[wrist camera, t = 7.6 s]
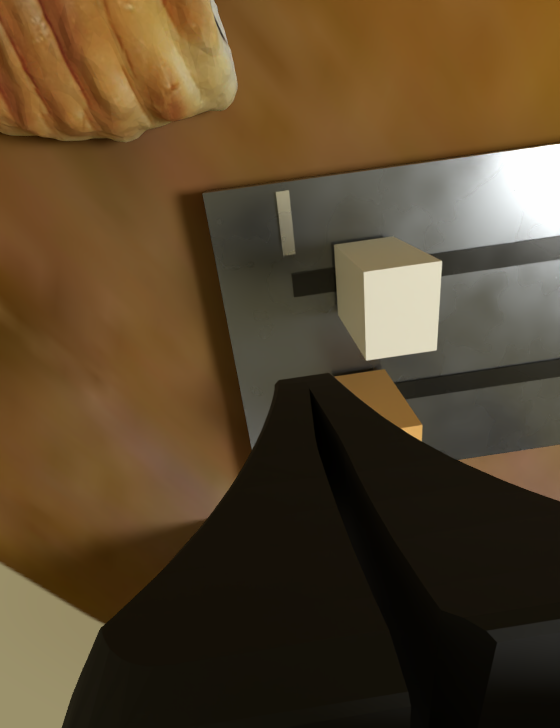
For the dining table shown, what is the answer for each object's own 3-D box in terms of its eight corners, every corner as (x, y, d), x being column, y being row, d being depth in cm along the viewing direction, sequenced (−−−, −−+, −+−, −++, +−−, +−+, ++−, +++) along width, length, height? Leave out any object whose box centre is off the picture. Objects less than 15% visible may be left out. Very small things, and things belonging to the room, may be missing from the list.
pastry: (23, 183, 16) (-37, 188, 12) (-97, -39, 13) (-221, -112, 9) (250, 104, 15) (252, 87, 12) (180, -148, 12) (155, -267, 9)
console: (635, 418, 23) (655, 431, 22) (258, 474, 23) (259, 491, 22) (735, 118, 17) (772, 114, 16) (204, 191, 16) (201, 193, 15)
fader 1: (392, 307, 18) (436, 350, 14) (337, 315, 18) (366, 360, 14) (393, 236, 16) (441, 260, 12) (334, 244, 16) (363, 272, 12)
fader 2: (384, 421, 20) (419, 485, 16) (337, 428, 20) (360, 494, 16) (384, 369, 19) (422, 425, 15) (333, 376, 19) (358, 434, 15)
